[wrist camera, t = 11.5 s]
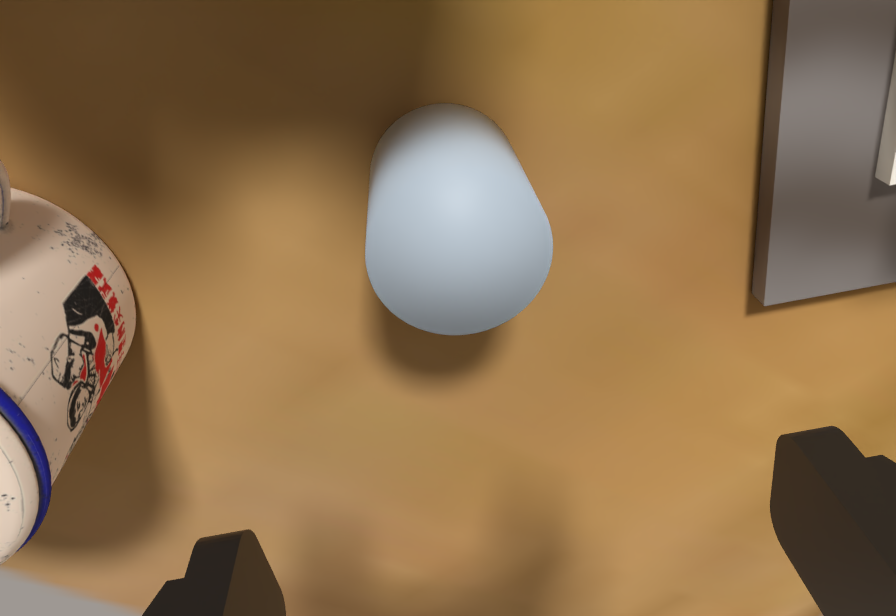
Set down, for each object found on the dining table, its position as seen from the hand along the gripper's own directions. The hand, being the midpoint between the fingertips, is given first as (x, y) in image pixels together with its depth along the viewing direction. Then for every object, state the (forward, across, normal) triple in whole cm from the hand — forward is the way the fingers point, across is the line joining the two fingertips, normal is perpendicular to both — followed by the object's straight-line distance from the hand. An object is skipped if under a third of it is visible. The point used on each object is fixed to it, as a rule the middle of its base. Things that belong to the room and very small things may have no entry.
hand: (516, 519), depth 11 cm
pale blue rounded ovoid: (+15, 0, 0) cm, 15 cm away
